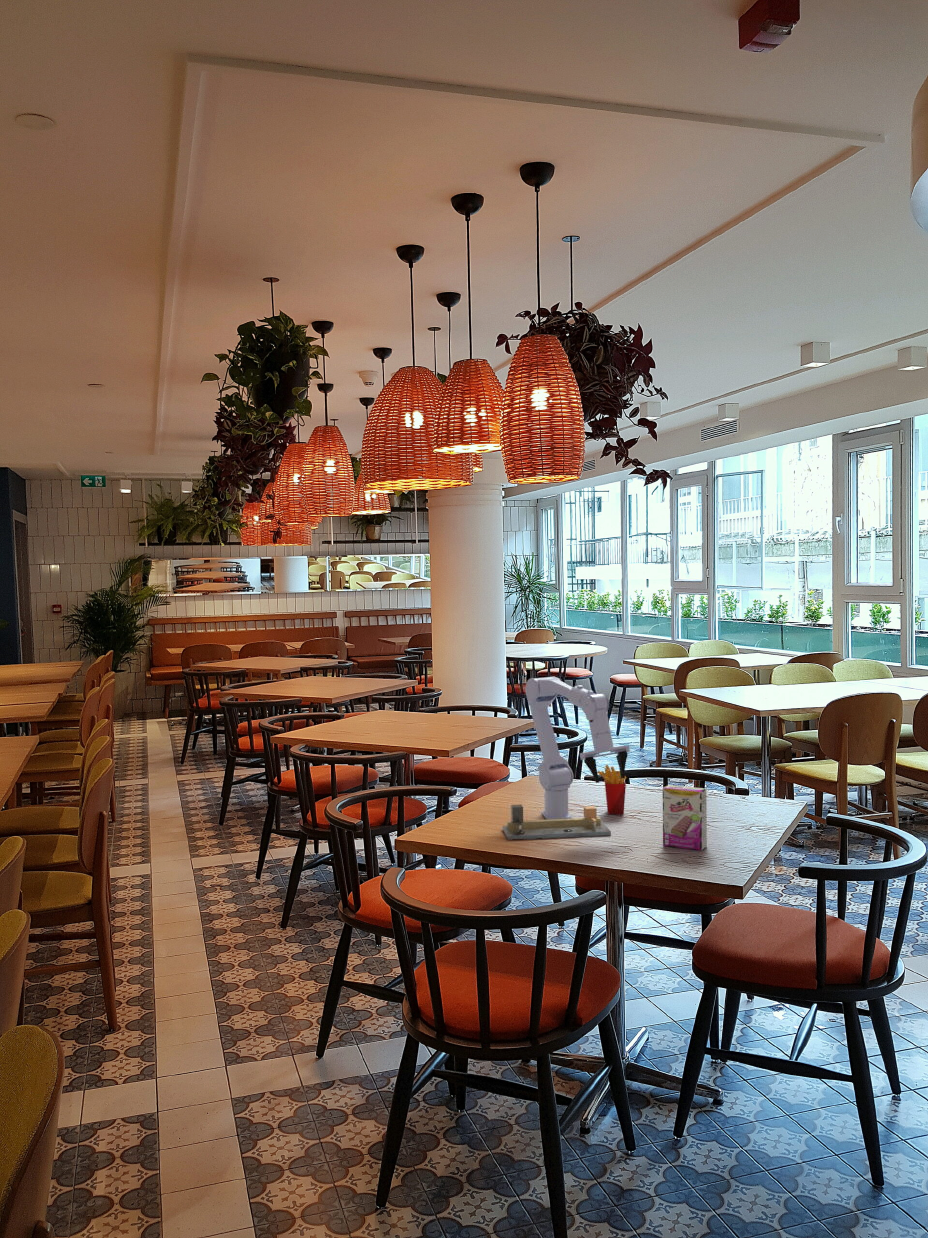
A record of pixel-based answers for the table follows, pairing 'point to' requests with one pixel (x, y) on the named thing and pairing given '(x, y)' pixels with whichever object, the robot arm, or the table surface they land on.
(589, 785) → the table surface
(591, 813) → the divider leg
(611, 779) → the french fries
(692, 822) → the candy bar box
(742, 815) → the table surface
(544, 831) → the bolt plate
